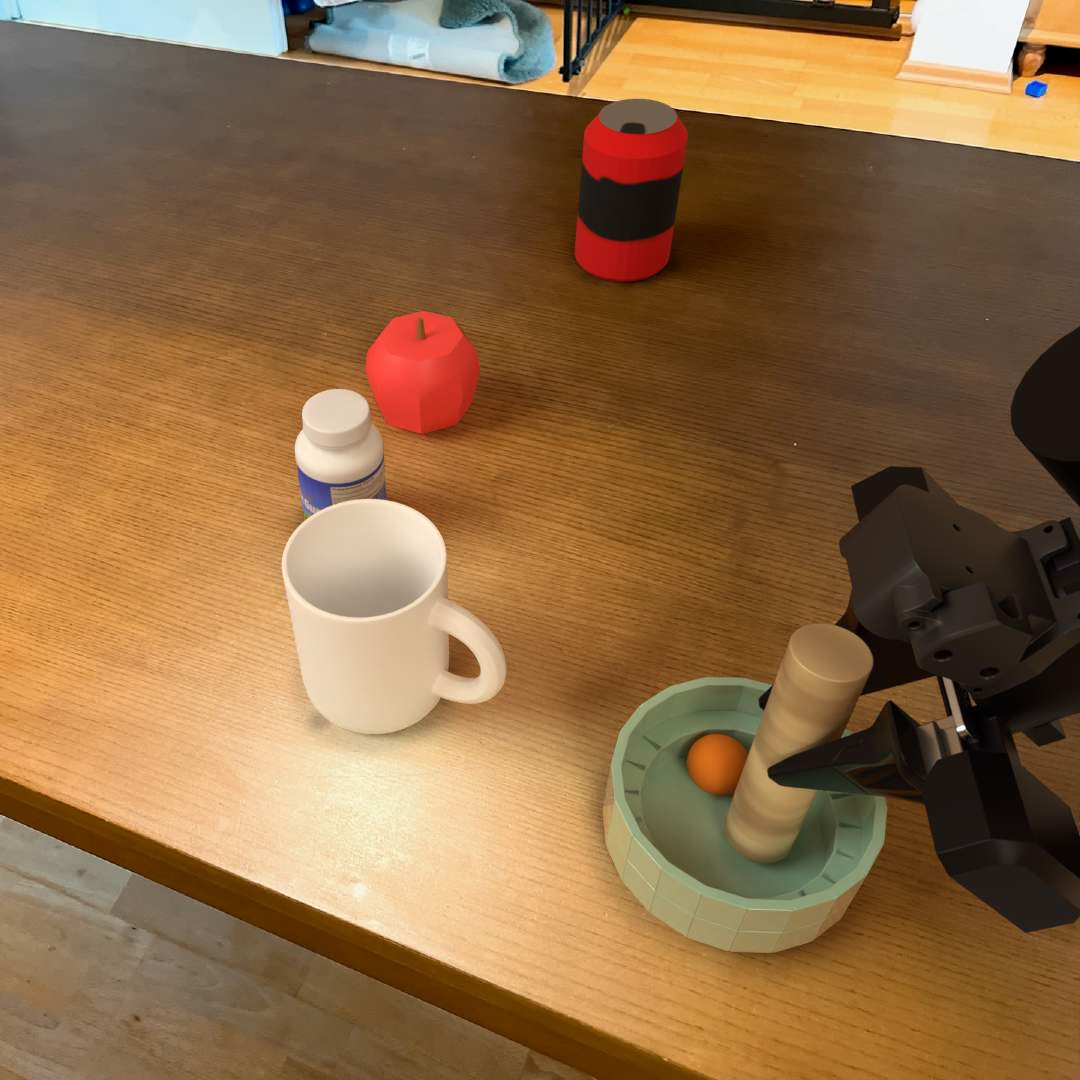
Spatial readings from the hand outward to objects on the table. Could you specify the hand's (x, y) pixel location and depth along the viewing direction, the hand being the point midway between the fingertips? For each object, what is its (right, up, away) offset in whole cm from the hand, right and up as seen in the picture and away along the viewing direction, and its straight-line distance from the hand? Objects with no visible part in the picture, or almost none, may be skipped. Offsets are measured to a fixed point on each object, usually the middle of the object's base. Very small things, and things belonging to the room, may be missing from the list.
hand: (768, 741), depth 47 cm
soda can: (+3, +32, +41) cm, 52 cm away
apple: (-13, +18, +29) cm, 37 cm away
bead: (0, -2, +6) cm, 6 cm away
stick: (+1, -5, +4) cm, 7 cm away
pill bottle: (-19, +10, +22) cm, 31 cm away
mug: (-15, 0, +13) cm, 20 cm away
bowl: (0, -6, +6) cm, 8 cm away
